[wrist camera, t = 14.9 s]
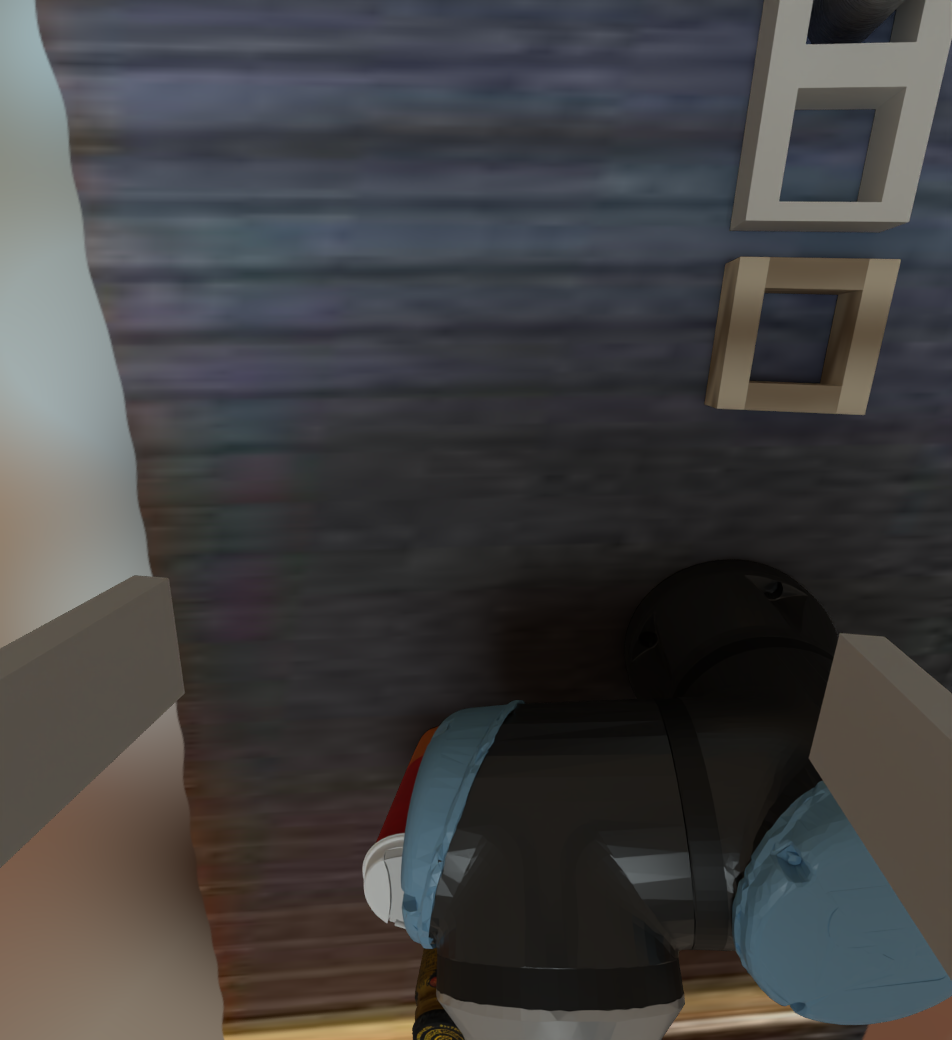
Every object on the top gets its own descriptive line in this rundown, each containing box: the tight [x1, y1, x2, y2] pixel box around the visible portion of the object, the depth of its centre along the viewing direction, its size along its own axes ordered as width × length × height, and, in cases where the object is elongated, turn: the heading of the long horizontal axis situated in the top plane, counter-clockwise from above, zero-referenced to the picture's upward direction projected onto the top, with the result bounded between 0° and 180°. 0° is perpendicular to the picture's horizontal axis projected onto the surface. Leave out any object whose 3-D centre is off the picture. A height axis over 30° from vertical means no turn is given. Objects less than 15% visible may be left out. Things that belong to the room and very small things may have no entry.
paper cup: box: [363, 726, 439, 929], centre depth 44 cm, size 8×8×14 cm
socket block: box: [705, 257, 901, 415], centre depth 36 cm, size 9×9×3 cm
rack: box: [730, 0, 952, 232], centre depth 32 cm, size 15×9×3 cm, turn 178°
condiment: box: [412, 948, 465, 1040], centre depth 50 cm, size 7×8×12 cm
